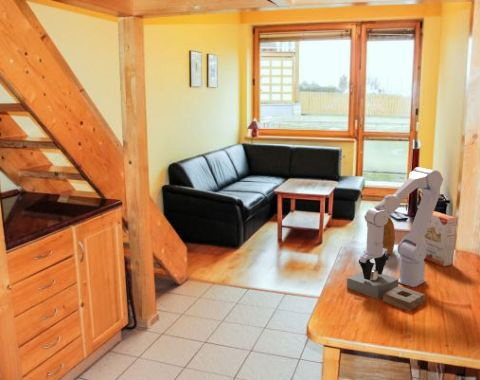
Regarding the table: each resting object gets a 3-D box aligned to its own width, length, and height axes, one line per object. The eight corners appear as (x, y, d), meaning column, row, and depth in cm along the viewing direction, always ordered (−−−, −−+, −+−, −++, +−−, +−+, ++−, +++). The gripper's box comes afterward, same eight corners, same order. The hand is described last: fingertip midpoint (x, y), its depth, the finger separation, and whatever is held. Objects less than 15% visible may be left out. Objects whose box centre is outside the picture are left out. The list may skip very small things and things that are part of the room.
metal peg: (371, 286, 184) (372, 268, 183) (378, 288, 182) (379, 271, 181) (366, 288, 182) (367, 270, 181) (373, 290, 180) (374, 272, 179)
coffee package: (394, 248, 228) (397, 202, 224) (393, 257, 216) (396, 208, 212) (372, 246, 231) (374, 201, 227) (370, 254, 220) (372, 207, 215)
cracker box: (417, 257, 217) (421, 211, 212) (428, 255, 219) (431, 209, 215) (442, 267, 204) (446, 218, 200) (453, 265, 207) (457, 217, 202)
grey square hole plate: (367, 279, 192) (367, 269, 191) (397, 289, 182) (398, 278, 181) (346, 288, 183) (347, 277, 182) (377, 299, 173) (378, 288, 172)
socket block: (398, 293, 178) (398, 285, 177) (424, 302, 170) (424, 294, 170) (382, 301, 171) (383, 293, 171) (409, 310, 164) (409, 302, 163)
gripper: (376, 235, 186) (374, 268, 189) (353, 242, 177) (352, 278, 180) (393, 239, 181) (390, 273, 184) (370, 247, 172) (368, 283, 174)
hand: (372, 276), depth 181 cm, fingers open, 7 cm apart
